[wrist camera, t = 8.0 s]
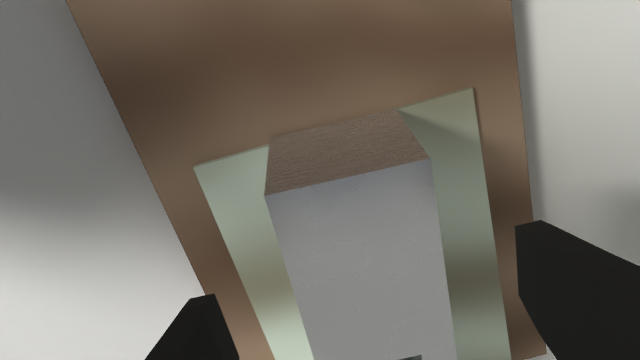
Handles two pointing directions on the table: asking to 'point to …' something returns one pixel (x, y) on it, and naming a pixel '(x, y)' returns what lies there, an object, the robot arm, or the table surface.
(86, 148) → the table surface
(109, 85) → the stand
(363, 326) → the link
